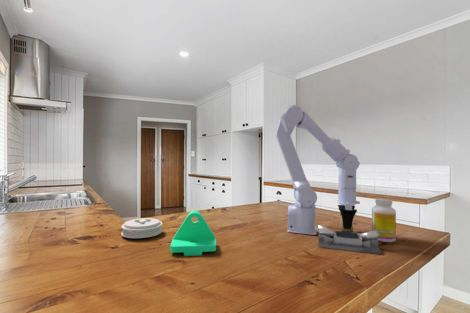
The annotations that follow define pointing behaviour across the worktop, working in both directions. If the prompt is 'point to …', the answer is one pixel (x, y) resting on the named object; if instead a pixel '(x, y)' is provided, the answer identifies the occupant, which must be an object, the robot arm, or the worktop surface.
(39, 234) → the worktop surface
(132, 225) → the lid
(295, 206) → the robot arm
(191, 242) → the camera mount
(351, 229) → the coupling
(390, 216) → the supplement bottle
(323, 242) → the shaft stand
